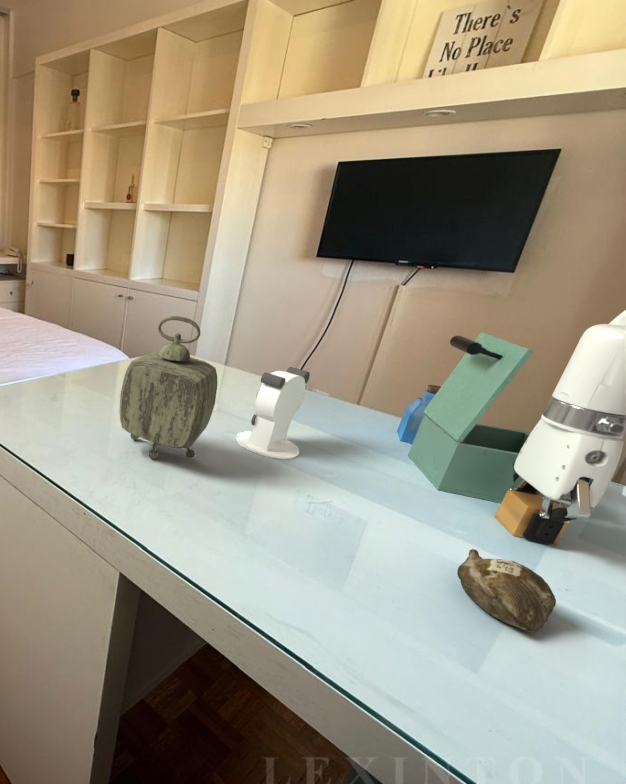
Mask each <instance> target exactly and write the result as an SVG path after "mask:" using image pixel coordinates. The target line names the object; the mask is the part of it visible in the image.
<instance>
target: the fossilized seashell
mask: <svg viewBox="0 0 626 784" xmlns="http://www.w3.org/2000/svg"><path fill="white" fill-rule="evenodd" d="M456 572H457V573H456V574H457V577H458V579H459V580H460V584H461V587H462V589H463V591H464V593H465V594H466V596H467V597H468V598H469V599H470V600H471V601H472V602H473V603H475V604H476V605H477V606H478V607H479V608H481V609H482V610H483V611H484V612H486V613H487V614H489V615H491V617H494V618H496V619H497V620H500V621H502V623H505V624H508V625H510V626H513V627H515V628H518V629H520V630H523V631H526V632H528V633H535V632H538V631H539V630H541V629H543V627H544V626H545V624H546V623H548V621H549V617H550V616H551V615H552V612H553V611H554V609H555V607H556V604H557V599H556V597H555V594H554V593H553V591H552V589H551V587H550V585H549V583H548V582H546V581H545V579H544V578H543V577H542V576H541V575H539V574H538V573H536V572H535V571H534V570H532V569H531V568H529V567H527V566H525V565H523V564H521V563H519V562H517V561H514V560H511V559H503V558H483V557H482V556H480V553H479V551H478V550H477V549H474V548H471V549H469V552H468V556H467V558H466V559H465V560H464V561H463V562H462V563H460V565H459V566H458V568H457V571H456Z"/></svg>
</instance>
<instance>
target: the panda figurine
mask: <svg viewBox="0 0 626 784" xmlns="http://www.w3.org/2000/svg"><path fill="white" fill-rule="evenodd" d="M310 375H311V373H310V372H309V371H307V370H304V369H300V368H296V367H294V366H293V367H292V366H289V367H287V368H286V371H285V370H276V371H273V372H271V373H270V372H264V373H263V374H262V375H261V378H260V383H261V386H260V387H259V389H258V391H257V393H256V397H255V403H254V413H255V414H253V416H252V417H251V421H250V423H251V426H253V428H252V430H244V431H240V432H238V433H237V434H236V437H235V439H236V443H238V445H240V447H242V448H244V449H246V450H247V451H249V452H251V453H254V454H256V455H259V456H262V457H266V458H271V459H277V460H291V459H295V458H297V457H298V456H300V448H299V447H298V446H297V445H296V444H295V443H293V442H292V441H290V440H288V439H287V434H288V431H289V428H290V425H291V423H292V420H293V418H294V417H295V415H296V414H297V413H298V412H299V409H300V407H301V405H302V404H303V400H304V397H305V393H306V384H307V383H308V382H309V380H310Z"/></svg>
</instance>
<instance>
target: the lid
mask: <svg viewBox="0 0 626 784" xmlns="http://www.w3.org/2000/svg"><path fill="white" fill-rule="evenodd" d="M449 344H450V346H451V347H453V348H456V349H458V350H460V351H461V352H464V353H465V354H464V355H463V356H462V358H461V359H460V360H459V362H458V363H457V365H456V366H455V367H454V369H452V370H451V371H452V372H450V374H449V375H448V376H447V378H446V379H445V380H444V382H443V384H442V385H441V388H440V389H439V390H438V392H437V393H436V395H435V396H434V397H433V399H432V400H431V401H430V403H429V404H428V405H427V407H426V408H425V410H424V411H423V412H424V413H425V414H426V415H427V416H429V417H430V418H431V419H432V420H433V421H434V422H436V423H437V424H438V425H439V426H440V427H441V428H443V429H444V430H445V431H446V432H447V433H449V434H450V435H451V436H452V437H453V438H454V439H456V440H457V441H459V442H462V441H463V440H464V439H465V437H466V436H467V435H468V434H469V432H470V431H471V430H472V429H473V427H474V426H475V425H476V424H478V423H479V421H480V420H481V419H482V417H483V416H484V415H485V414H486V412H487V411H488V410H489V409H490V407H491V406H492V405H493V404H494V402H495V401H496V400H497V399H498V397H499V396H500V395H502V393H503V391H504V390H505V389H506V387H508V385H509V384H510V383H511V381H512V380H513V379H514V377H515V376H516V375H517V374H518V373H519V371H520V370H521V369H522V367H523V366H524V365H525V364H526V362H527V361H529V359H530V357H531V356H532V355H533V354H534V352H535V350H532V349H529V348H527V347H524V346H522V345H518V344H516V343H513V342H511V341H508V340H505V339H502V338H500V337H498V336H497V337H496V336H494V335H492V334H489V333H486V332H483V331H481V332H480V333H479V334H478V335H477V337H476V338H475V340H472V339H471V338H467V337H465V336H462V335H454V336H453V337H451V339H450V340H449Z"/></svg>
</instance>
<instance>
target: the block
mask: <svg viewBox="0 0 626 784" xmlns="http://www.w3.org/2000/svg"><path fill="white" fill-rule="evenodd" d="M543 498H544V497H543V496H538V495H533V494H528V493H523V492H518V491H513V490H508V491H507V493H506V495H505V497H504V499H503V501H502V503H500V505H499V507H498V509H497V510H496V512H495V515H494V519H496V520H497V522H499V524H501V526H503V527H504V528H505V530H506V531H508V532H509V533H510V534H511V536H513V537H518V538H521V539H525V538H524V537H523V534H524V532H525V530H526V528H527V526H528V524H529V522H530V521H531V519H532V517H533V515H534V514H539V512H540V509H541V505H542V501H543ZM559 507H561V508H562V505H558V504H557V503H556V502H554V505H553V508H552V509H555V508H559ZM569 524H570V523H565V524H564V525H563V527H562V529H561V531H560V532H559V534H558V536H557V538H556V539H555V541H554V543H553V544H552V545H554V546H557V544H558V543H559V541H560V539H561V538H562V536H563V534H564V532H565V531H566V529H567V527H568V526H569Z"/></svg>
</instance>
